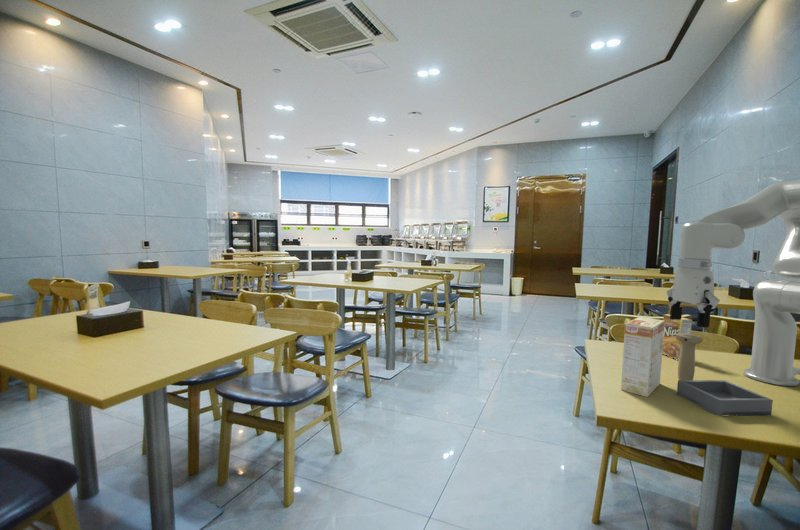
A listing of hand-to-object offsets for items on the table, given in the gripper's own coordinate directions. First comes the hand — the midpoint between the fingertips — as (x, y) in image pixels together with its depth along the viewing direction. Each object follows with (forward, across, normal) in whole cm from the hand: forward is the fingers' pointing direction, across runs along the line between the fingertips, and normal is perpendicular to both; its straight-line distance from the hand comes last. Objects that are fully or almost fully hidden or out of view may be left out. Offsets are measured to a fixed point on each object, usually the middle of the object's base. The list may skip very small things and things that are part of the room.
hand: (688, 322), depth 113 cm
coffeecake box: (+19, -1, +14) cm, 24 cm away
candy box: (+19, +27, -20) cm, 38 cm away
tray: (+19, -13, 0) cm, 23 cm away
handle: (+19, 0, -1) cm, 19 cm away
